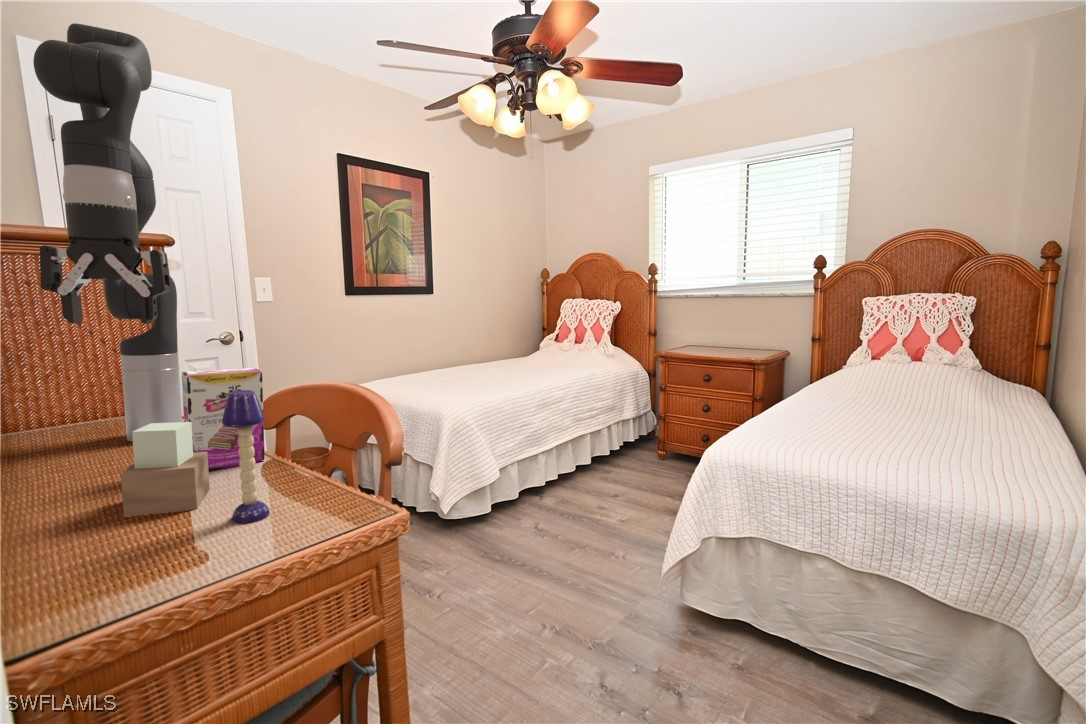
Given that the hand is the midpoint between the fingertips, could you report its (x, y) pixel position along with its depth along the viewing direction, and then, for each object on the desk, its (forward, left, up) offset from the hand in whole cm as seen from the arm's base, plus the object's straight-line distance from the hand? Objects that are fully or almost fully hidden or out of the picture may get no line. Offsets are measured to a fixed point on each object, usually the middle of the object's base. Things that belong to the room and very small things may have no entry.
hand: (112, 323), depth 72 cm
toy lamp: (+14, +20, -25) cm, 35 cm away
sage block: (+6, +8, -19) cm, 21 cm away
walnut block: (+6, +8, -25) cm, 27 cm away
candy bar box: (-11, +10, -25) cm, 29 cm away
